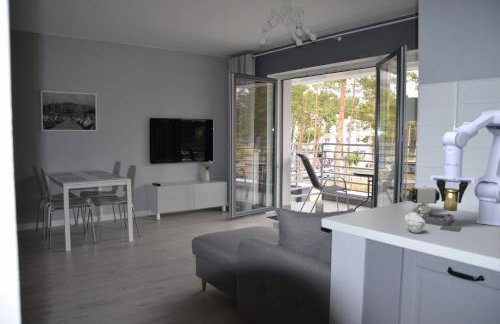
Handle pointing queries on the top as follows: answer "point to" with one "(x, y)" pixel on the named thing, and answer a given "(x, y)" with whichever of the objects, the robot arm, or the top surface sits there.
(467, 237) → the top surface
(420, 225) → the white lumpy ball
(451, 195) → the gold metal cylinder
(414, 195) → the pneumatic valve
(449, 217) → the housing
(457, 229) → the mat
